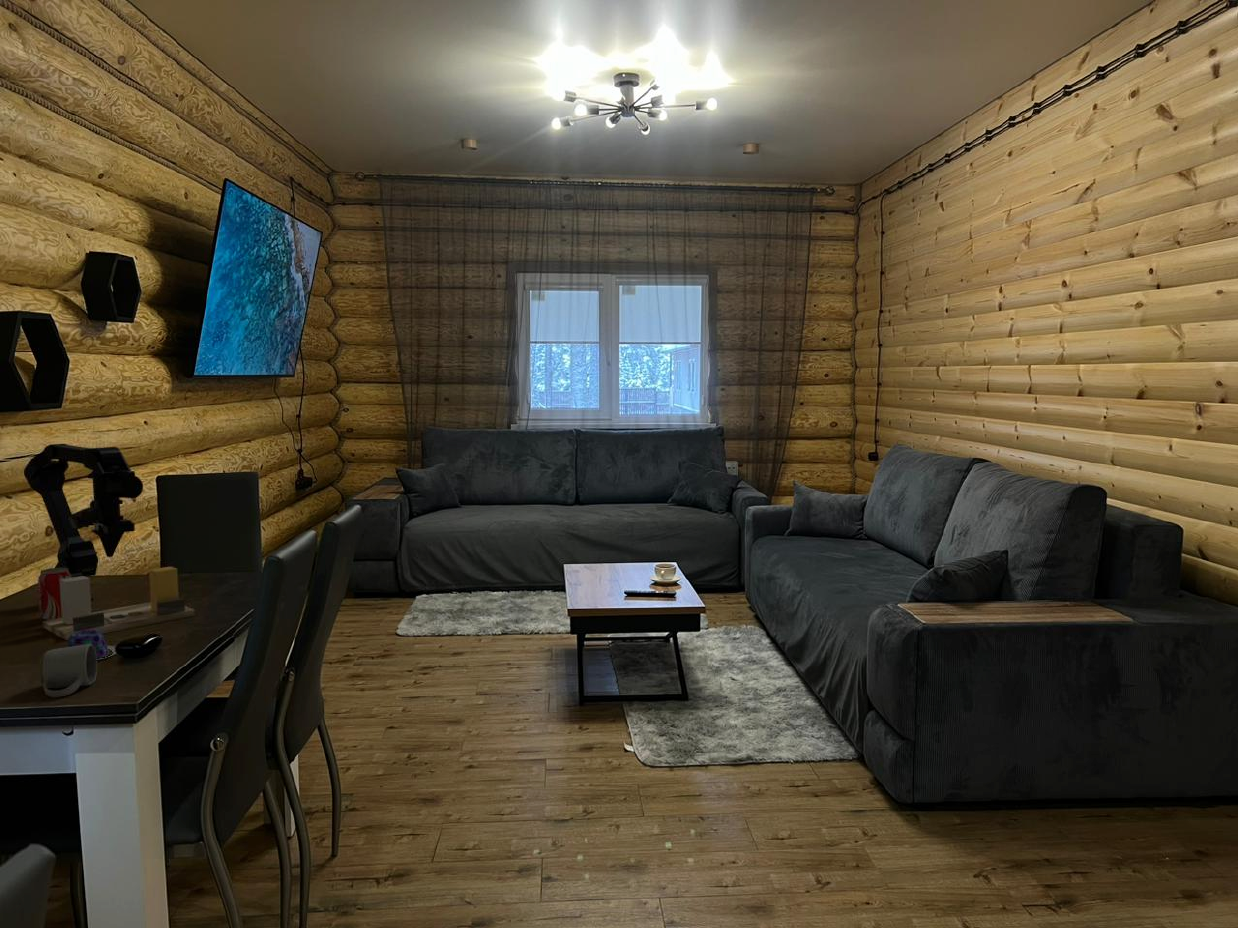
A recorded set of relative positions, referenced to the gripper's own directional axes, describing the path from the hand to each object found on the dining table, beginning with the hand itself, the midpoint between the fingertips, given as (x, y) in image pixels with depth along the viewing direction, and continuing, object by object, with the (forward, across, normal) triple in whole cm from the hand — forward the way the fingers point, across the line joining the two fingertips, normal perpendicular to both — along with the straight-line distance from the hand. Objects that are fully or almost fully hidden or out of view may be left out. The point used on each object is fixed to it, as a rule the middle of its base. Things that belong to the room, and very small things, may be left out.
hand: (109, 556), depth 222 cm
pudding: (+14, +41, -19) cm, 47 cm away
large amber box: (+12, +20, +5) cm, 24 cm away
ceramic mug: (+13, +60, -28) cm, 68 cm away
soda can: (+13, +2, -13) cm, 19 cm away
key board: (+13, +17, -4) cm, 22 cm away
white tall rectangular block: (+12, +16, -13) cm, 24 cm away
